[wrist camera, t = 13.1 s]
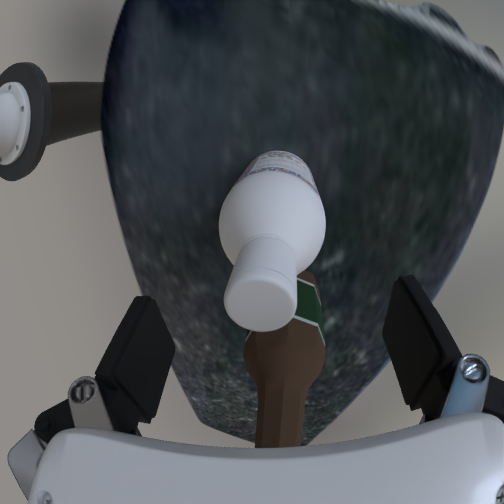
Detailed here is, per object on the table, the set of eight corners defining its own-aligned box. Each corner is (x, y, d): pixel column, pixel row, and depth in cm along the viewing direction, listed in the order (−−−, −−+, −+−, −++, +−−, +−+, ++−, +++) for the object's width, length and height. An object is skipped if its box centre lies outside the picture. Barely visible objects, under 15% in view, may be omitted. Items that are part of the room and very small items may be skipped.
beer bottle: (290, 241, 32) (281, 454, 11) (330, 282, 34) (352, 473, 13) (245, 277, 35) (196, 464, 14) (285, 312, 37) (270, 486, 16)
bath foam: (238, 157, 27) (146, 246, 10) (303, 141, 25) (337, 206, 8) (255, 216, 30) (209, 365, 13) (317, 204, 28) (351, 351, 11)
